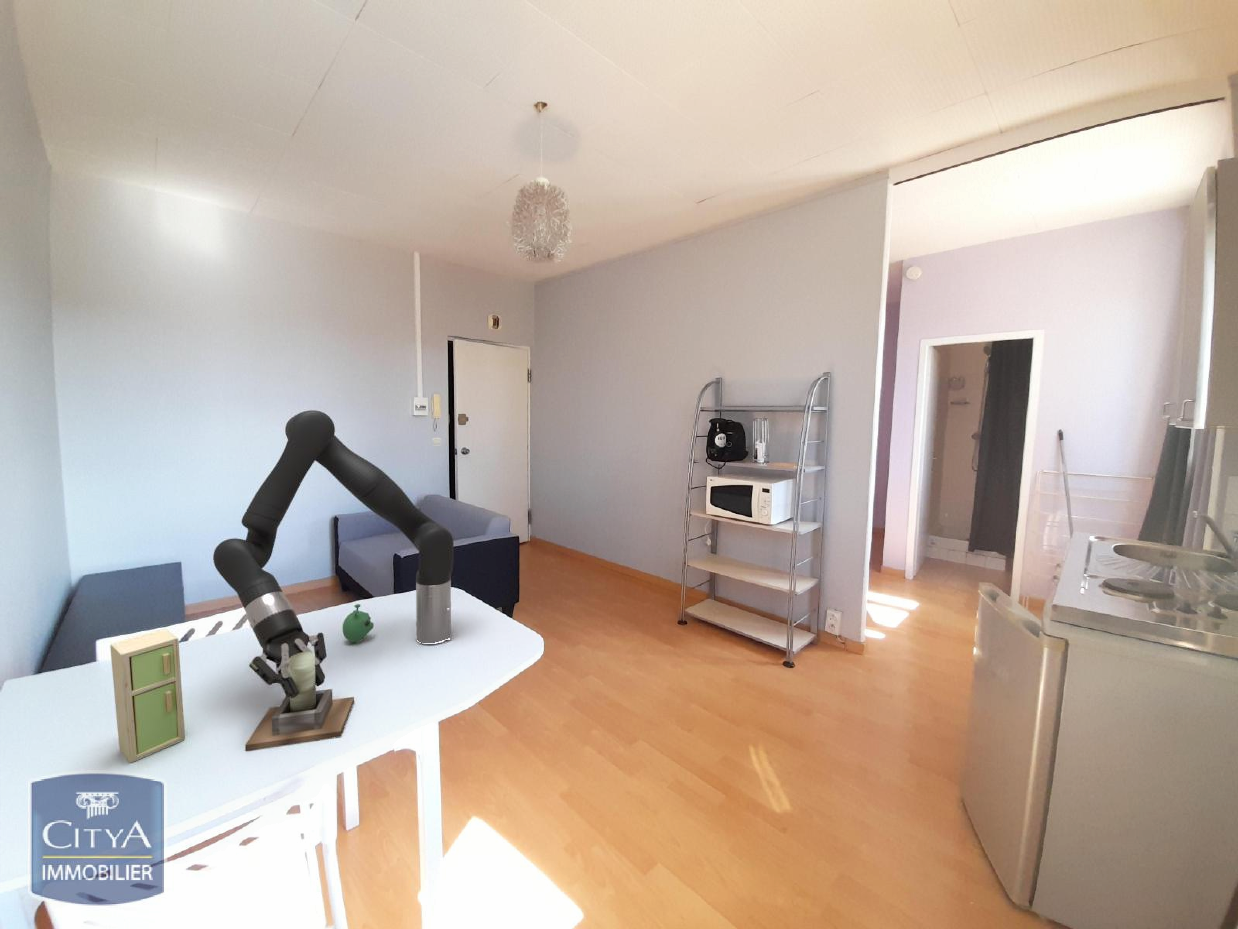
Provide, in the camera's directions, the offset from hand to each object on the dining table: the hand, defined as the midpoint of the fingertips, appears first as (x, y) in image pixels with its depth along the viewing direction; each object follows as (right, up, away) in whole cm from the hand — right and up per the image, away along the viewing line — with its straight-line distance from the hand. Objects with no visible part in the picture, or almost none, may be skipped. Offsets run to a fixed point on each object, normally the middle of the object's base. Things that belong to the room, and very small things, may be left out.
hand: (308, 689), depth 97 cm
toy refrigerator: (-26, -8, -6) cm, 28 cm away
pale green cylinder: (-2, -5, +1) cm, 6 cm away
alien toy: (-10, -4, +38) cm, 39 cm away
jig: (-2, -8, +2) cm, 8 cm away
